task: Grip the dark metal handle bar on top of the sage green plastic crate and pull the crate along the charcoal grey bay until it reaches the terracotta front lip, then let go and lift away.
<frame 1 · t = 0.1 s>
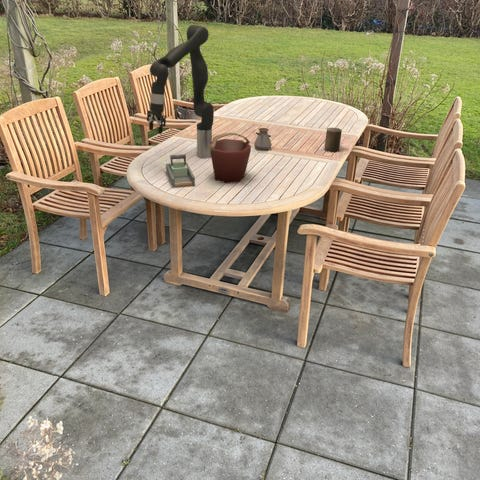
hand: (155, 131, 278), 22 cm above the table, tool pointing down, fingers open, 8 cm apart
pillar candle: (331, 150, 329), on the table
bucket: (228, 177, 283), on the table
bay: (180, 178, 279), on the table
coffee pot: (260, 151, 323), on the table
crate: (178, 164, 279), point 7 cm above the table, slide at 0.0 cm
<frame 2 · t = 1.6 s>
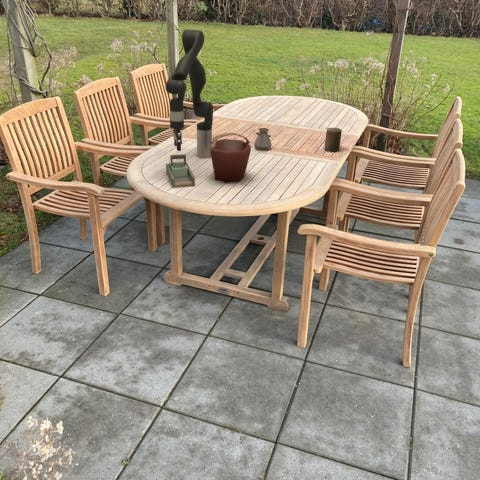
hand: (177, 148, 275), 16 cm above the table, tool pointing down, fingers open, 8 cm apart
nothing on the table moved.
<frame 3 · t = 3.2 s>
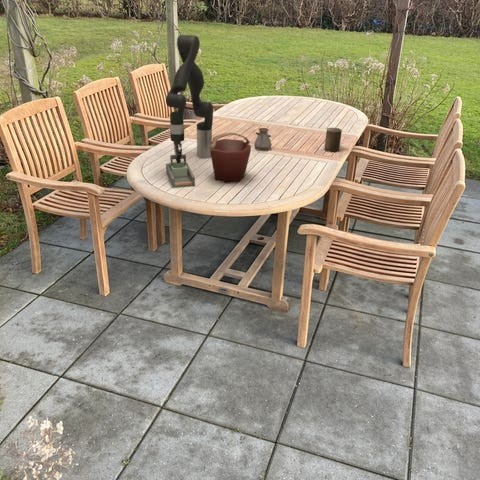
hand: (178, 161, 279), 8 cm above the table, tool pointing down, fingers closed on crate, 2 cm apart
crate: (178, 164, 279), point 7 cm above the table, slide at 0.0 cm, touching gripper
everything else where it was.
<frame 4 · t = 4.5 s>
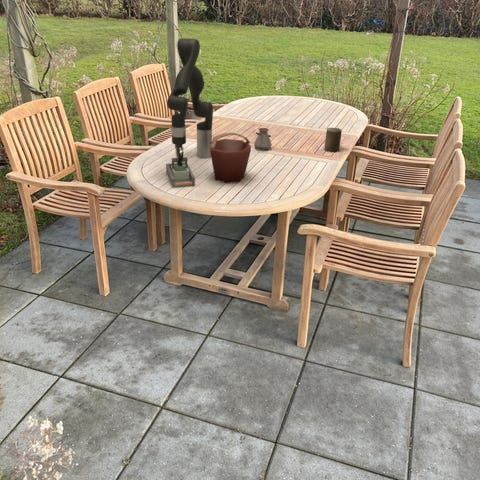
hand: (179, 165, 275), 8 cm above the table, tool pointing down, fingers closed on crate, 2 cm apart
crate: (179, 167, 275), point 7 cm above the table, slide at 4.9 cm, touching gripper
everything else where it was.
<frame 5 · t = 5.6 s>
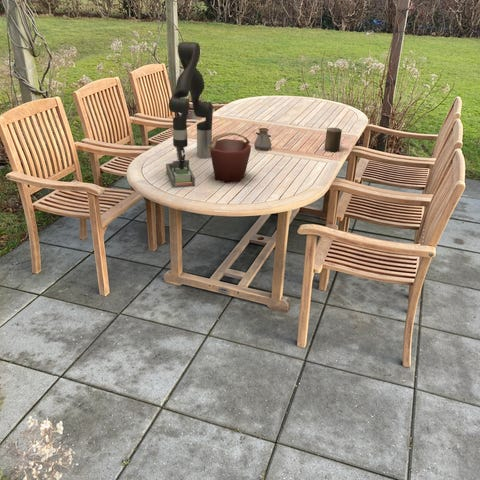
hand: (181, 167, 271), 8 cm above the table, tool pointing down, fingers closed on crate, 2 cm apart
crate: (181, 170, 271), point 7 cm above the table, slide at 9.4 cm, touching gripper
everything else where it was.
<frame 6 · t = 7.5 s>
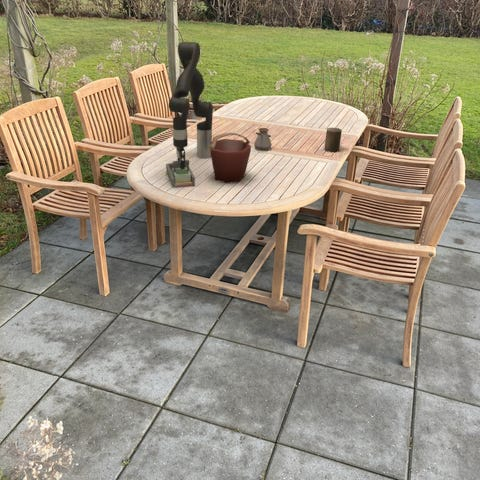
hand: (181, 166, 270), 9 cm above the table, tool pointing down, fingers open, 8 cm apart
crate: (181, 170, 271), point 7 cm above the table, slide at 9.5 cm
everything else where it was.
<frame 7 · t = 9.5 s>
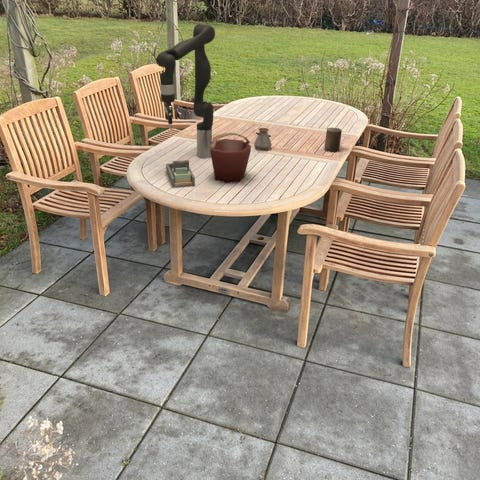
hand: (169, 121, 280), 27 cm above the table, tool pointing down, fingers open, 8 cm apart
nothing on the table moved.
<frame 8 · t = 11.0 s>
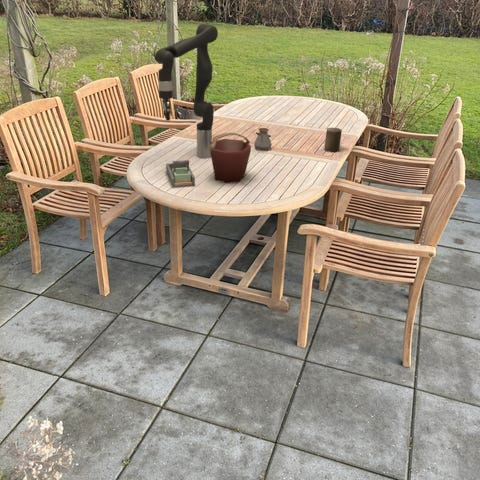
hand: (166, 118, 282), 28 cm above the table, tool pointing down, fingers open, 8 cm apart
nothing on the table moved.
at the end: crate slide at 9.5 cm; the gripper is holding nothing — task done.
